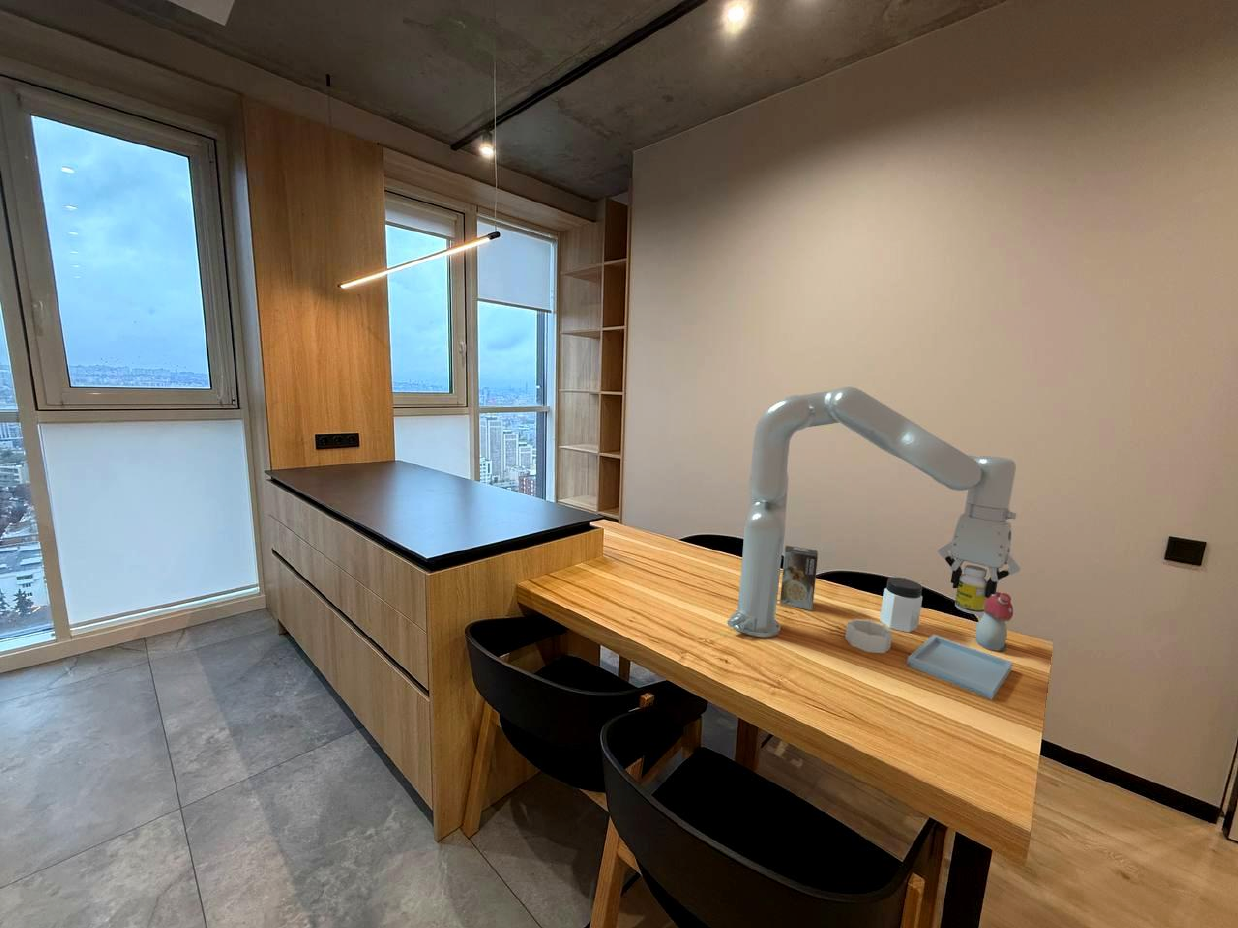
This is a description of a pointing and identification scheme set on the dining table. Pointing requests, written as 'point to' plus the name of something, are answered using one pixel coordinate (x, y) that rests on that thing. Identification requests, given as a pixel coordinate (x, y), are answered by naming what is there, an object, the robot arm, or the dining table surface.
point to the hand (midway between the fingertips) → (972, 590)
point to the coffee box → (799, 577)
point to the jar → (901, 604)
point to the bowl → (868, 636)
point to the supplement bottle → (972, 590)
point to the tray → (961, 665)
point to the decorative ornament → (994, 622)
